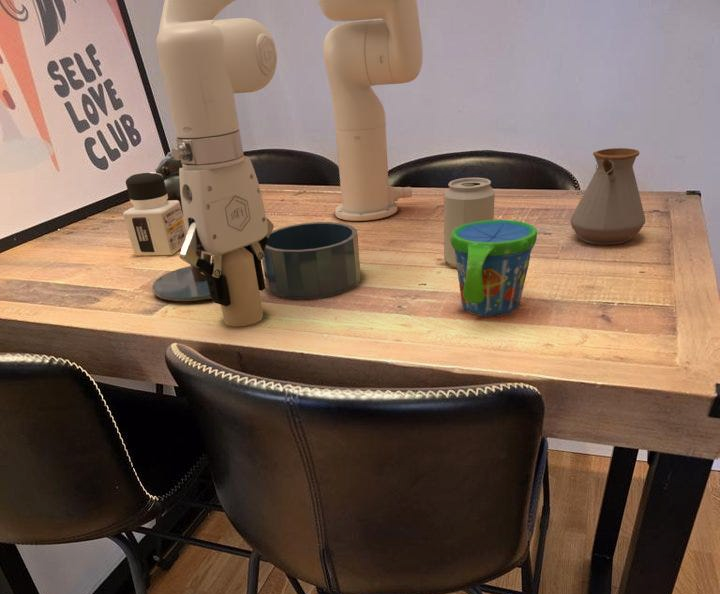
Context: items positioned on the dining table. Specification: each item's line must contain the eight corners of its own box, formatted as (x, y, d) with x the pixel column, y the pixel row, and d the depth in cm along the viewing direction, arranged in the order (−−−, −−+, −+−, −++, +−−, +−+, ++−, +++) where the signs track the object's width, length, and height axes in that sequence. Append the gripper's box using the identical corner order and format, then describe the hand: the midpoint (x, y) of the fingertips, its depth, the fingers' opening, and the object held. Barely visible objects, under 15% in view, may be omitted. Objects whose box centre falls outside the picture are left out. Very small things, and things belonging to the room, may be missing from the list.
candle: (226, 313, 93) (211, 242, 87) (264, 309, 93) (251, 238, 87) (222, 328, 88) (206, 255, 82) (262, 324, 88) (249, 250, 82)
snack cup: (478, 283, 94) (481, 210, 88) (549, 293, 89) (556, 216, 83) (428, 323, 84) (426, 244, 78) (504, 337, 79) (509, 253, 73)
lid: (242, 263, 111) (235, 227, 107) (262, 292, 99) (255, 252, 95) (149, 280, 107) (139, 244, 103) (159, 312, 95) (148, 272, 91)
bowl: (343, 260, 108) (339, 216, 104) (374, 287, 96) (371, 239, 92) (258, 277, 104) (250, 232, 100) (280, 306, 93) (272, 258, 89)
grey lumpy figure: (141, 214, 144) (129, 149, 142) (181, 222, 154) (171, 161, 152) (188, 195, 136) (177, 126, 134) (227, 205, 146) (217, 141, 144)
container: (172, 255, 117) (153, 178, 110) (133, 256, 119) (112, 180, 111) (189, 242, 123) (172, 168, 116) (152, 243, 125) (133, 170, 117)
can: (495, 255, 104) (499, 174, 97) (487, 271, 98) (490, 187, 91) (449, 254, 106) (450, 175, 99) (438, 269, 100) (438, 187, 93)
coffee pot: (574, 226, 113) (586, 130, 104) (645, 229, 109) (663, 129, 100) (550, 267, 98) (561, 158, 89) (631, 272, 93) (651, 158, 84)
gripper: (172, 167, 71) (208, 323, 81) (283, 138, 81) (302, 280, 91) (133, 163, 75) (172, 312, 86) (243, 135, 85) (266, 272, 96)
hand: (239, 294), depth 88 cm, fingers closed on candle, 5 cm apart
